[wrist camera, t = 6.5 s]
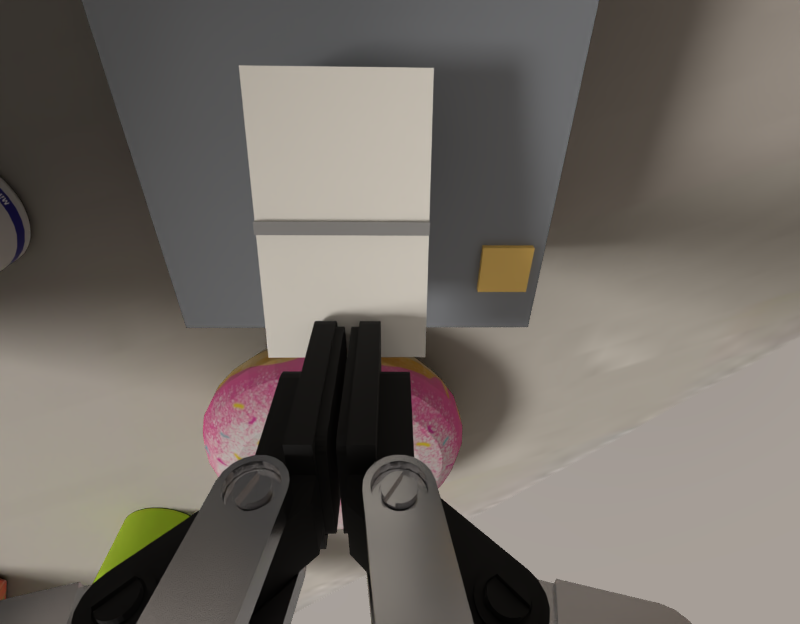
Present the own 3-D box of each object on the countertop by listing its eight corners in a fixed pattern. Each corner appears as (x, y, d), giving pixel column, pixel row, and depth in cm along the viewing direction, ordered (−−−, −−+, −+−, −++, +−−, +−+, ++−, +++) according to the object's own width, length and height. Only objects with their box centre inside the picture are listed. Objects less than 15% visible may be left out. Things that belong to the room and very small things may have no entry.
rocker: (255, 74, 10) (236, 63, 9) (429, 76, 10) (434, 66, 9) (279, 339, 13) (266, 360, 11) (421, 338, 13) (425, 359, 11)
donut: (188, 426, 28) (153, 500, 24) (285, 268, 21) (261, 331, 17) (373, 496, 32) (371, 568, 28) (497, 381, 26) (518, 453, 22)
